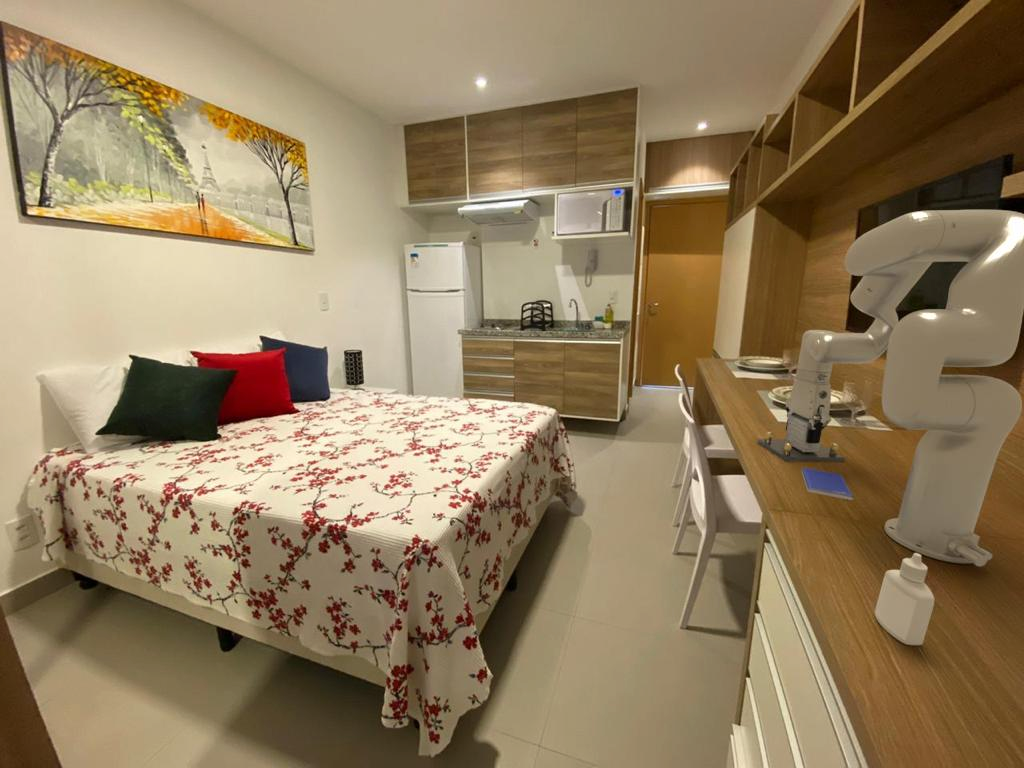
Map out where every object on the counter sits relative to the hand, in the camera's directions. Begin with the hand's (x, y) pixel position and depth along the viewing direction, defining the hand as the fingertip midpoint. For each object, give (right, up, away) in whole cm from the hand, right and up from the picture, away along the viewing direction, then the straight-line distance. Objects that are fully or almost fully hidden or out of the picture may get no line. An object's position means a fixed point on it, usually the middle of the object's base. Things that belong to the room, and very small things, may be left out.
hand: (801, 436), depth 116 cm
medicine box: (0, -3, +1) cm, 3 cm away
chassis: (0, -4, +1) cm, 5 cm away
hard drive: (-7, -10, -17) cm, 21 cm away
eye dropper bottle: (-28, -20, -59) cm, 68 cm away
